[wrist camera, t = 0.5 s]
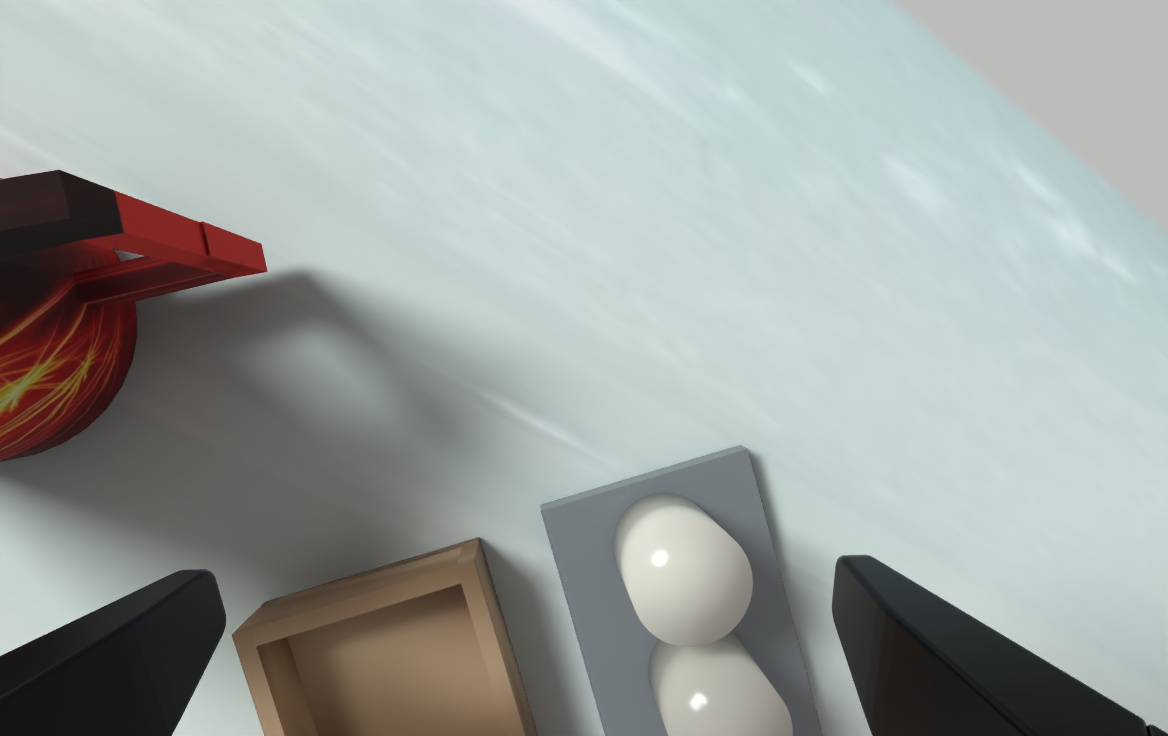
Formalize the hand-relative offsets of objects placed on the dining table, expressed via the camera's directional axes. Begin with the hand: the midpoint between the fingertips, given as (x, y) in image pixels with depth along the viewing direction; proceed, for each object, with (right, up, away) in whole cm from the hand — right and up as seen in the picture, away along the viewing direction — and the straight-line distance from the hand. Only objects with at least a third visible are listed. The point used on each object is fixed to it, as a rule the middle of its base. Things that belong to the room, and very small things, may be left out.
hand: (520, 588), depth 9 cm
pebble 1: (+4, -3, +14) cm, 15 cm away
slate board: (+5, -8, +15) cm, 18 cm away
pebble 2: (+5, -8, +14) cm, 17 cm away
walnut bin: (-5, -11, +14) cm, 18 cm away
